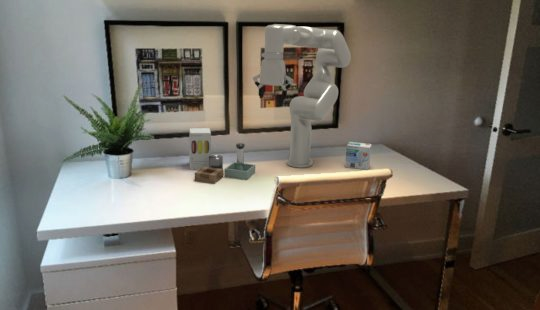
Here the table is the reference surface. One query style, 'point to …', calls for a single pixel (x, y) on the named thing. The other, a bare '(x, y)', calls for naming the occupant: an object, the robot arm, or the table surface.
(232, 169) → the tray
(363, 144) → the light bulb box
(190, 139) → the supplement box
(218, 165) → the grey cylinder
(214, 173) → the brown square open box
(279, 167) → the table surface
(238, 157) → the pin
